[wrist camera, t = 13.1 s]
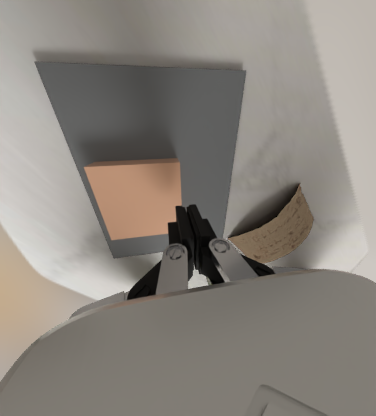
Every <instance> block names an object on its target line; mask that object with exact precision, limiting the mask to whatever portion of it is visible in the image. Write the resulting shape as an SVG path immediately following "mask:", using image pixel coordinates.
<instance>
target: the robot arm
mask: <svg viewBox="0 0 376 416" xmlns="http://www.w3.org/2000/svg"><path fill="white" fill-rule="evenodd" d="M175 209H176V222H168V236H169V246H167V247H166V248H165V249H164V252H163V256H162V260H161V261H160V262H159V263H158V264H156V265H155V266H154V267H153V268H152V269H151V270H150V271H149V272H148V273H147V274H146V275H145V276H144V277H143V278H142V279H140V280H139V281H138V282H137V283H136V284H135V285H134V286H133V287H132V288H131V290H130V291H128V292H126V293H124V291H123V292H120V293H117V294H115V295H112V296H109V297H107V298H104V299H102V300H99V301H96V302H94V303H91V304H88V305H86V306H84V307H82V308H80V309H78V310H77V311H76V312H74V313H73V314H72V316H71V317H70V318H69V319H68V320H66V321H65V322H63V323H61V324H59V325H57V326H56V327H54V328H52V329H51V330H49V331H48V332H46V333H45V334H44V335H42V336H41V337H40V338H38V339H37V340H36V341H35V342H34V343H32V344H31V346H29V347H28V349H26V350H25V351H24V353H23V354H22V355H21V356H20V357H19V358H18V359H17V361H16V362H15V363H14V364H13V366H12V367H11V368H10V370H9V371H8V372H7V373H6V375H5V376H4V378H3V379H2V380H1V382H0V416H376V283H375V282H373V281H371V280H369V279H367V278H365V277H363V276H359V275H356V274H352V273H349V272H344V271H338V270H329V269H310V270H308V269H303V268H286V267H272V268H269V267H268V266H266V265H264V264H262V263H260V262H257V261H255V260H253V259H251V258H248V257H246V256H244V255H242V254H239V253H238V251H237V250H236V249H235V248H234V247H233V245H232V244H231V243H230V242H229V241H227V240H225V239H222V238H217V236H216V234H215V232H214V231H213V229H212V227H211V225H210V223H209V221H208V219H207V218H206V219H202V217H201V215H200V212H199V210H198V208H197V206H196V204H192V205H189V207H187V212H186V209H185V207H182V205H181V206H175ZM194 265H195V269H196V270H198V271H199V274H203V275H205V276H206V279H207V282H208V284H209V285H208V286H203V287H197V288H191V289H188V281H189V280H190V278H191V277H192V276H193V270H194Z"/></svg>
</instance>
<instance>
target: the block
mask: <svg viewBox="0 0 376 416" xmlns="http://www.w3.org/2000/svg"><path fill="white" fill-rule="evenodd" d="M84 169H85V172H86V174H87V177H88V180H89V182H90V185H91V188H92V190H93V193H94V196H95V198H96V201H97V203H98V206H99V209H100V211H101V214H102V217H103V219H104V222H105V225H106V227H107V230H108V232H109V235H110V238H111V240H117V239H126V238H134V237H143V236H152V235H160V234H168V222H176V209H175V206H181V205H182V201H181V177H180V162H179V160H178V158H169V159H147V160H125V161H102V162H93V163H91V164H89V165H87V166H85V167H84Z"/></svg>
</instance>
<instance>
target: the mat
mask: <svg viewBox="0 0 376 416" xmlns="http://www.w3.org/2000/svg"><path fill="white" fill-rule="evenodd" d="M35 64H36V67H37V69H38V72H39V74H40V77H41V79H42V82H43V84H44V87H45V89H46V92H47V94H48V97H49V99H50V102H51V104H52V107H53V109H54V112H55V114H56V116H57V119H58V121H59V124H60V126H61V129H62V131H63V134H64V136H65V139H66V141H67V144H68V146H69V149H70V151H71V154H72V156H73V159H74V161H75V164H76V166H77V169H78V171H79V173H80V176H81V178H82V181H83V183H84V186H85V188H86V191H87V193H88V196H89V198H90V201H91V203H92V206H93V208H94V211H95V213H96V216H97V218H98V221H99V223H100V226H101V228H102V230H103V233H104V235H105V238H106V240H107V243H108V245H109V248H110V250H111V253H112V255H113V258H121V257H128V256H135V255H143V254H150V253H158V252H164V249H165V248H166V247H167V246H169V236H168V234H160V235H152V236H143V237H134V238H126V239H117V240H111V238H110V235H109V232H108V230H107V227H106V225H105V222H104V219H103V217H102V214H101V211H100V209H99V206H98V203H97V201H96V198H95V196H94V193H93V190H92V188H91V185H90V182H89V180H88V177H87V174H86V172H85V169H84V167H85V166H87V165H89V164H91V163H93V162H102V161H125V160H147V159H169V158H178V160H179V162H180V177H181V201H182V207H185V209H186V212H187V207H189V205H192V204H196V206H197V208H198V210H199V212H200V215H201V217H202V219H206V218H207V219H208V221H209V223H210V225H211V227H212V229H213V231H214V232H215V234H216V236H217V238H222V239H223V232H224V225H225V218H226V211H227V204H228V197H229V190H230V182H231V175H232V168H233V161H234V154H235V147H236V140H237V133H238V126H239V119H240V112H241V105H242V97H243V90H244V83H245V76H246V71H244V70H220V69H196V68H173V67H149V66H126V65H102V64H78V63H55V62H35Z"/></svg>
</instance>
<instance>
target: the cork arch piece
mask: <svg viewBox="0 0 376 416" xmlns="http://www.w3.org/2000/svg"><path fill="white" fill-rule="evenodd" d="M313 220H314V219H313V216H312V214H311V212H310V210H309V207H308V205H307V202H306V200H305V198H304V195H303V194H302V193H301V187H300V184H299V187H298V189H297V191H296V194H295V195H294V196H293V198H292V199H291V201H290V202H289V203H288V204H287V205H286V206H285V207H284V208H283V210H281V212H280V213H279V215H278V216H277V217H276V218H274V219H273V220H272V221H270V222H269V223H266V224H264V225H263V226H262V227H260V228H256V229H255V230H253V231H249V232H248V233H244V234H241V235H239V236H235V237H231V238H228V239H229V240H231V241H232V242H233V243H234V244H235V245H236V246H237V247H238V248H239V249H240V250H241V251H242V252H243V253H244V254H245V255H246V256H247V257H248V258H251V259H253V260H255V261H257V262H260V263H267V262H271V261H274V260H276V259H278V258H281V257H283V256H285V255H287V254H289V253H290V252H292V251H293V250H295V249H296V248H297V247H298V246H299V245H300V244H301V243H302V242H303V241H304V240H305V239H306V237H307V236H308V234H309V232H310V230H311V227H312V223H313Z"/></svg>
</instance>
